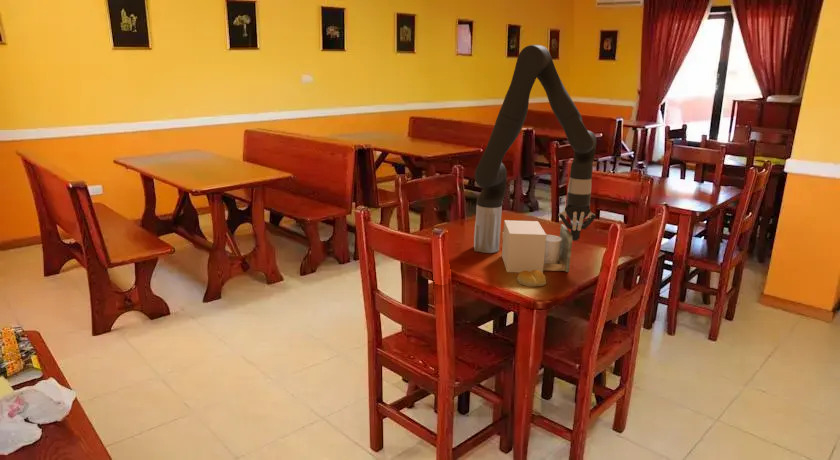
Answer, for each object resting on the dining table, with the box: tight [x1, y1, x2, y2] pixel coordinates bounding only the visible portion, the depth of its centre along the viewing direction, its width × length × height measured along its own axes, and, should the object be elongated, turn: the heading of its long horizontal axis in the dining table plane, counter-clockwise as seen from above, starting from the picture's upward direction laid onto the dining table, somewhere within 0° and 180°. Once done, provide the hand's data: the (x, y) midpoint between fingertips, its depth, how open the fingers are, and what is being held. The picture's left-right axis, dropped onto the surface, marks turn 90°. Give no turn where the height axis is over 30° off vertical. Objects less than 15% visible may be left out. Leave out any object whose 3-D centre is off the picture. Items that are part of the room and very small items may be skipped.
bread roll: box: [516, 270, 547, 288], centre depth 184 cm, size 8×9×4 cm
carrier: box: [543, 223, 573, 273], centre depth 199 cm, size 14×14×13 cm
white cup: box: [544, 234, 562, 264], centre depth 199 cm, size 8×8×10 cm
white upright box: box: [501, 219, 547, 274], centre depth 199 cm, size 12×16×14 cm
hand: (574, 240), depth 198 cm, fingers closed
